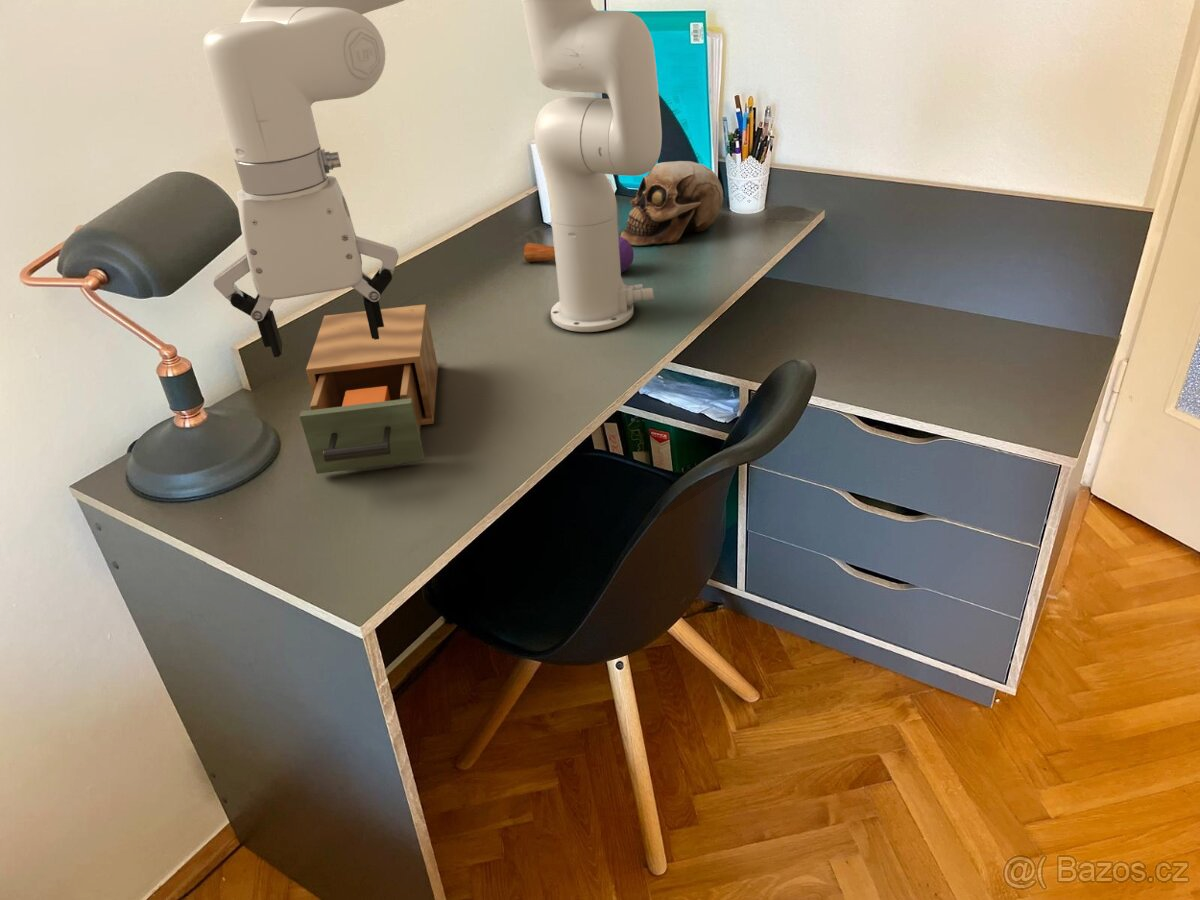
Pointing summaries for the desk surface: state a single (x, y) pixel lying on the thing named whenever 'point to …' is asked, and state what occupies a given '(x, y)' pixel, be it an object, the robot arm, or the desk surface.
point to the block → (366, 396)
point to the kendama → (547, 253)
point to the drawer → (364, 420)
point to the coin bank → (673, 203)
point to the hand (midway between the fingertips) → (327, 342)
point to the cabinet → (378, 348)
